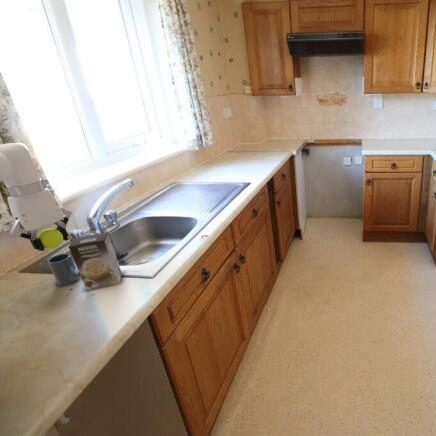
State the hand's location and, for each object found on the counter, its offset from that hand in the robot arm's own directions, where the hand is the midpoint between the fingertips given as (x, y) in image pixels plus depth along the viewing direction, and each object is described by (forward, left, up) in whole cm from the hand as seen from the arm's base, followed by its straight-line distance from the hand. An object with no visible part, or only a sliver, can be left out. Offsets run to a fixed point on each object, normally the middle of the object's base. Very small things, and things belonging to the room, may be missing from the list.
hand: (52, 244), depth 97 cm
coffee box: (+4, -12, -14) cm, 19 cm away
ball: (0, 0, +2) cm, 2 cm away
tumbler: (0, 0, -14) cm, 14 cm away
